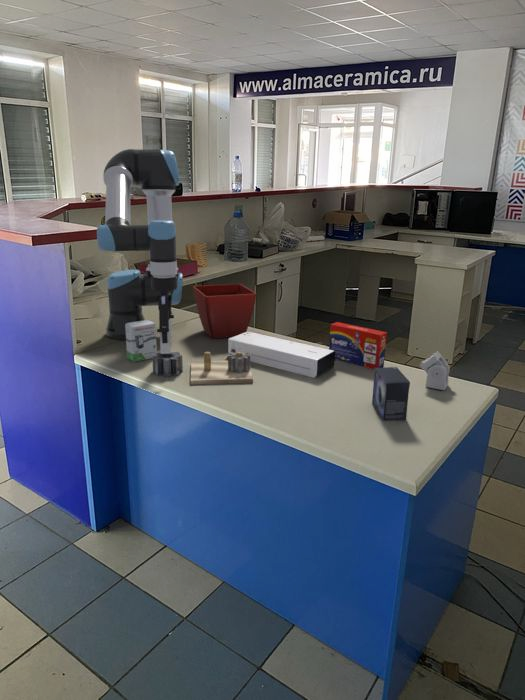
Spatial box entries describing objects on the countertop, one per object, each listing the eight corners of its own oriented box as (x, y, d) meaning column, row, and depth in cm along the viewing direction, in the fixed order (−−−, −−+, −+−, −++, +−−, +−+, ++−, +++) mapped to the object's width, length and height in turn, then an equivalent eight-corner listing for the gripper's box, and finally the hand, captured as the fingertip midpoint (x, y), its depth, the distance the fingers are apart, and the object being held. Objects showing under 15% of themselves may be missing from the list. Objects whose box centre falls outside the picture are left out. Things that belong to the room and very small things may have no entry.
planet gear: (154, 366, 165) (153, 351, 164) (183, 365, 166) (182, 350, 165) (152, 377, 157) (151, 361, 155) (182, 376, 158) (181, 360, 156)
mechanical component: (444, 391, 150) (448, 358, 147) (416, 386, 154) (420, 353, 151) (448, 385, 155) (452, 353, 151) (421, 380, 158) (424, 348, 155)
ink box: (133, 362, 168) (131, 326, 164) (126, 358, 172) (124, 323, 168) (157, 357, 173) (156, 322, 170) (150, 353, 177) (148, 319, 173)
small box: (369, 403, 142) (373, 366, 138) (393, 402, 142) (397, 366, 139) (381, 421, 132) (385, 382, 128) (407, 420, 132) (411, 381, 129)
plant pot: (240, 324, 212) (240, 282, 207) (256, 338, 195) (257, 293, 190) (193, 328, 205) (192, 285, 200) (206, 342, 189) (205, 296, 183)
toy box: (383, 367, 168) (387, 332, 165) (377, 370, 165) (381, 335, 162) (334, 354, 179) (336, 321, 175) (328, 357, 176) (330, 324, 172)
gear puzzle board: (191, 365, 167) (190, 344, 165) (248, 363, 169) (248, 343, 167) (190, 384, 152) (190, 362, 150) (252, 382, 154) (253, 361, 152)
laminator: (334, 369, 167) (335, 350, 165) (315, 380, 157) (316, 361, 155) (247, 348, 185) (247, 331, 183) (225, 357, 175) (225, 339, 173)
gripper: (154, 268, 163) (157, 334, 170) (146, 283, 140) (150, 359, 146) (178, 268, 164) (180, 334, 171) (175, 283, 141) (178, 359, 147)
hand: (166, 346), depth 158 cm, fingers open, 13 cm apart
